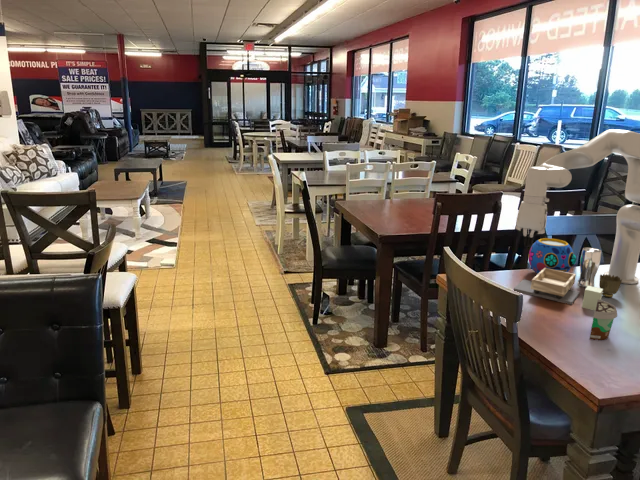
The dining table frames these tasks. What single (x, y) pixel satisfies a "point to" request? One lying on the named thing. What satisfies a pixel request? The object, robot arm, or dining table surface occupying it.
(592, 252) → the beer glass
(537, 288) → the slatted wooden crate
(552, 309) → the dining table surface
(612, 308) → the food container
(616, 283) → the cup
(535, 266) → the ceramic pot
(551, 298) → the dark gray flat slab
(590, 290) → the cream rectangular block
